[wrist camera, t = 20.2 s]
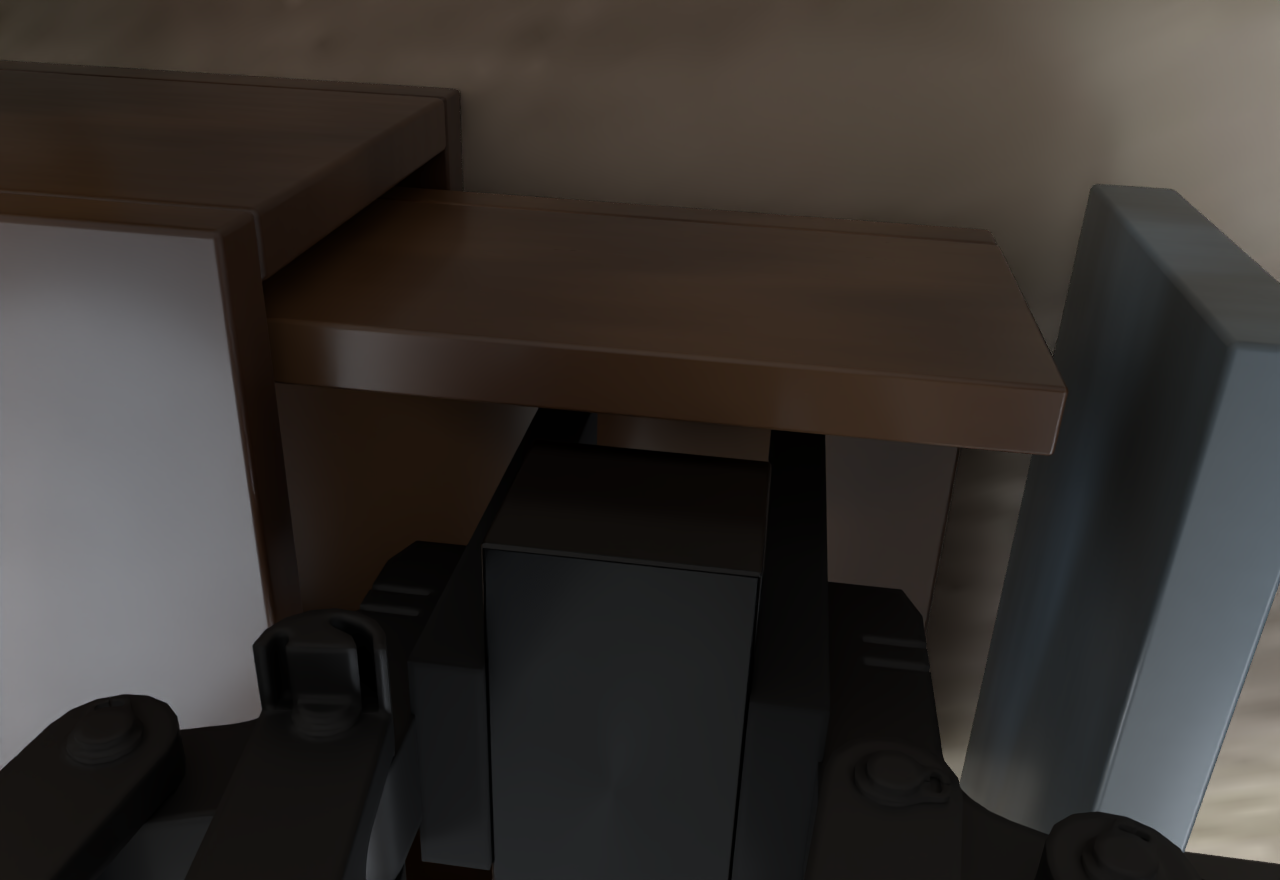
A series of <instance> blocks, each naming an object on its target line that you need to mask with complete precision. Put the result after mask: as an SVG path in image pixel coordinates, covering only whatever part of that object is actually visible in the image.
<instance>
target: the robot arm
mask: <svg viewBox="0 0 1280 880" xmlns="http://www.w3.org/2000/svg"><path fill="white" fill-rule="evenodd" d="M597 417H598V413H590V412H579V411H569V410H558V409H548V408H538V410H537V412H536V414H535V416H534V418H533V419H532V421H531V423H530V425H529V427H528V429H527V431H526V433H525V435H524V437H523V439H522V441H521V443H520V444H519V446H518V448H517V450H516V452H515V454H514V456H513V458H512V460H511V462H510V464H509V466H508V468H507V470H506V471H505V473H504V475H503V477H502V479H501V481H500V483H499V485H498V487H497V489H496V491H495V493H494V495H493V496H492V498H491V500H490V502H489V504H488V506H487V508H486V510H485V512H484V514H483V516H482V518H481V520H480V521H479V523H478V525H477V527H476V529H475V531H474V533H473V535H472V537H471V539H470V541H469V543H468V545H467V546H465V545H455V544H446V543H437V542H427V541H418V540H417V541H415V542H414V543H412V544H411V545H409V546H408V547H406V548H405V549H403V550H402V551H401V552H399V553H398V554H396V555H395V556H393V557H392V558H390V559H389V560H388V561H387V562H386V564H385V566H384V567H383V569H382V570H381V572H380V574H379V575H378V577H377V578H376V580H375V582H374V583H373V587H372V590H369V591H368V593H367V594H366V596H365V598H364V599H363V601H362V602H361V604H360V609H359V610H356V611H351V610H344V609H338V608H331V609H319V610H309V611H306V612H302V613H299V614H296V615H293V616H289V617H286V618H284V619H282V620H281V621H279V622H277V623H276V624H274V625H272V626H271V627H269V628H267V629H266V630H264V632H263V633H262V634H261V635H260V636H259V638H258V639H257V640H256V641H255V642H254V644H253V645H252V648H253V655H254V662H255V668H256V675H257V681H258V688H259V695H260V701H261V708H262V711H261V713H260V716H259V718H256V719H253V720H250V721H245V722H239V723H234V724H227V725H218V726H209V727H200V728H191V729H182V730H180V727H179V722H178V717H177V715H176V714H175V712H174V711H173V710H172V709H171V707H170V706H169V705H168V703H166V702H163V701H161V700H158V699H156V698H153V697H151V696H148V695H132V694H122V695H116V696H111V697H105V698H99V699H96V700H93V701H91V702H88V703H86V704H83V705H81V706H79V707H76V708H74V709H71V710H70V711H68V712H67V713H65V714H64V715H63V716H61V717H60V718H58V719H57V720H55V721H54V722H53V723H51V724H50V725H49V726H47V727H46V728H45V729H44V730H43V731H42V732H41V733H40V734H39V735H38V736H37V737H36V738H35V739H34V740H32V741H31V742H30V743H29V744H28V745H27V746H26V747H25V748H24V749H23V750H22V751H21V752H20V753H19V754H17V755H16V756H15V757H14V758H13V759H12V760H11V761H10V762H9V763H8V764H7V765H6V766H5V767H4V768H2V769H1V770H0V880H407V879H406V866H405V860H406V857H407V855H408V852H409V850H410V848H411V845H412V843H413V840H414V838H415V836H416V833H417V831H418V828H419V830H420V843H421V857H422V861H425V862H432V863H440V864H447V865H454V866H461V867H468V868H476V869H483V870H490V867H491V864H492V850H491V821H490V791H489V762H488V733H487V704H486V675H485V656H484V627H483V598H482V569H481V544H482V542H483V540H484V538H485V536H486V534H487V532H488V530H489V528H490V526H491V524H492V522H493V520H494V518H495V516H496V514H497V512H498V510H499V508H500V506H501V504H502V502H503V500H504V498H505V496H506V494H507V492H508V490H509V488H510V486H511V484H512V482H513V480H514V478H515V476H516V474H517V472H518V470H519V468H520V466H521V464H522V462H523V460H524V458H525V456H526V454H527V452H528V450H529V448H530V446H531V444H532V442H533V440H536V439H540V440H550V441H561V442H571V443H581V444H592V445H597ZM768 462H770V463H771V466H772V471H771V484H770V497H769V511H768V524H767V537H766V550H765V564H764V577H763V586H762V596H761V606H760V616H759V625H758V635H757V645H756V655H755V664H754V674H753V684H752V693H751V694H750V702H749V712H748V721H747V731H746V741H745V751H744V761H743V771H742V781H741V790H740V800H739V810H738V820H737V830H736V840H735V850H734V859H733V869H732V879H731V880H1201V878H1200V876H1199V874H1198V872H1197V870H1196V869H1195V867H1194V866H1193V865H1192V863H1191V862H1190V861H1189V860H1188V858H1187V857H1186V856H1185V854H1184V853H1183V852H1182V850H1181V849H1180V848H1179V847H1178V846H1176V845H1175V844H1174V843H1172V842H1171V841H1170V840H1169V839H1167V838H1166V837H1165V836H1163V835H1162V834H1161V833H1159V832H1158V831H1157V830H1155V829H1153V828H1151V827H1149V826H1146V825H1144V824H1142V823H1140V822H1138V821H1135V820H1133V819H1131V818H1129V817H1126V816H1121V815H1115V814H1110V813H1104V812H1099V811H1095V812H1086V813H1076V814H1071V815H1070V816H1068V817H1066V818H1064V819H1063V820H1061V821H1059V822H1057V823H1056V824H1054V826H1053V828H1052V830H1051V831H1050V833H1049V835H1048V834H1046V833H1043V832H1040V831H1037V830H1035V829H1032V828H1029V827H1027V826H1024V825H1021V824H1019V823H1016V822H1013V821H1011V820H1008V819H1006V818H1004V817H1002V816H1000V815H998V814H995V813H993V812H991V811H989V810H987V809H986V808H985V807H983V806H982V805H980V804H979V803H977V802H976V801H974V800H973V799H971V798H970V797H969V796H968V795H967V794H966V793H965V792H964V791H963V790H962V789H961V788H960V784H959V780H958V777H957V776H956V775H955V774H954V772H953V771H952V770H951V769H950V767H949V766H948V765H947V764H946V762H945V761H944V758H943V754H942V747H941V741H940V734H939V727H938V720H937V713H936V706H935V699H934V692H933V685H932V678H931V672H929V669H930V664H929V657H928V651H927V649H926V637H925V630H924V623H923V616H922V615H921V613H920V612H919V611H918V609H917V608H916V607H915V606H914V604H913V603H912V602H911V600H910V599H909V598H908V597H907V595H906V594H905V593H904V591H903V590H902V589H893V588H884V587H874V586H865V585H856V584H846V583H837V582H828V560H827V503H826V446H825V435H823V434H813V433H802V432H792V431H781V430H771V434H770V444H769V455H768Z"/></svg>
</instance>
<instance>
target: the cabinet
mask: <svg viewBox="0 0 1280 880" xmlns="http://www.w3.org/2000/svg"><path fill="white" fill-rule="evenodd" d="M394 186H396V187H409V188H423V189H437V190H450V191H463V171H462V143H461V116H460V93H459V90H457V89H449V88H433V87H417V86H401V85H385V84H370V83H354V82H338V81H322V80H306V79H290V78H274V77H258V76H242V75H226V74H210V73H194V72H178V71H162V70H146V69H130V68H114V67H98V66H82V65H66V64H50V63H34V62H18V61H3V60H0V770H1V769H2V768H4V767H5V766H6V765H7V764H8V763H9V762H10V761H11V760H12V759H13V758H14V757H15V756H16V755H17V754H19V753H20V752H21V751H22V750H23V749H24V748H25V747H26V746H27V745H28V744H29V743H30V742H31V741H32V740H34V739H35V738H36V737H37V736H38V735H39V734H40V733H41V732H42V731H43V730H44V729H45V728H46V727H47V726H49V725H50V724H51V723H53V722H54V721H55V720H57V719H58V718H60V717H61V716H63V715H64V714H65V713H67V712H68V711H70V710H71V709H74V708H76V707H79V706H81V705H83V704H86V703H88V702H91V701H93V700H96V699H99V698H105V697H111V696H116V695H122V694H132V695H148V696H151V697H153V698H156V699H158V700H161V701H163V702H166V703H168V705H169V706H170V707H171V709H172V710H173V711H174V712H175V714H176V715H177V717H178V722H179V727H180V730H182V729H191V728H200V727H209V726H218V725H227V724H234V723H239V722H245V721H250V720H253V719H256V718H259V716H260V713H261V711H262V708H261V701H260V695H259V688H258V681H257V675H256V668H255V662H254V655H253V648H252V645H253V644H254V642H255V641H256V640H257V639H258V638H259V636H260V635H261V634H262V633H263V632H264V630H266V629H267V628H269V627H271V626H272V625H274V624H276V623H277V622H279V621H281V620H282V619H284V618H286V617H289V616H293V615H296V614H299V613H302V612H303V608H302V600H301V592H300V584H299V576H298V568H297V560H296V552H295V544H294V535H293V527H292V519H291V511H290V503H289V495H288V487H287V479H286V471H285V463H284V455H283V447H282V439H281V431H280V423H279V415H278V406H277V398H276V390H275V382H274V374H273V366H272V358H271V350H270V342H269V334H268V326H267V318H266V310H265V302H264V294H263V286H262V281H264V280H266V279H268V278H269V277H271V276H272V275H274V274H275V273H276V272H278V271H279V270H280V269H282V268H283V267H284V266H286V265H287V264H289V263H290V262H291V261H293V260H294V259H295V258H297V257H298V256H300V255H301V254H302V253H304V252H305V251H306V250H308V249H309V248H310V247H312V246H313V245H315V244H316V243H317V242H319V241H320V240H321V239H323V238H324V237H325V236H327V235H328V234H330V233H331V232H332V231H334V230H335V229H336V228H338V227H339V226H341V225H342V224H343V223H345V222H346V221H347V220H349V219H350V218H351V217H353V216H354V215H356V214H357V213H358V212H360V211H361V210H362V209H364V208H365V207H367V206H368V205H369V204H371V203H372V202H373V201H375V200H376V199H377V198H379V197H380V196H382V195H383V194H384V193H386V192H387V191H388V190H390V189H391V188H393V187H394Z"/></svg>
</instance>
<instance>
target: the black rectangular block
mask: <svg viewBox="0 0 1280 880" xmlns="http://www.w3.org/2000/svg"><path fill="white" fill-rule="evenodd" d="M771 471H772V466H771V463H770V462H767V461H757V460H747V459H737V458H726V457H716V456H706V455H695V454H685V453H675V452H664V451H654V450H643V449H633V448H623V447H612V446H602V445H592V444H581V443H571V442H561V441H550V440H540V439H536V440H533V442H532V444H531V446H530V448H529V450H528V452H527V454H526V456H525V458H524V460H523V462H522V464H521V466H520V468H519V470H518V472H517V474H516V476H515V478H514V480H513V482H512V484H511V486H510V488H509V490H508V492H507V494H506V496H505V498H504V500H503V502H502V504H501V506H500V508H499V510H498V512H497V514H496V516H495V518H494V520H493V522H492V524H491V526H490V528H489V530H488V532H487V534H486V536H485V538H484V540H483V542H482V544H481V569H482V598H483V627H484V656H485V675H486V704H487V733H488V762H489V791H490V821H491V850H492V880H731V879H732V869H733V859H734V850H735V840H736V830H737V820H738V810H739V800H740V790H741V781H742V771H743V761H744V751H745V741H746V731H747V721H748V712H749V702H750V694H751V693H752V684H753V674H754V664H755V655H756V645H757V635H758V625H759V616H760V606H761V596H762V586H763V577H764V564H765V550H766V537H767V524H768V511H769V497H770V484H771Z"/></svg>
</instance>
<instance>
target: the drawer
mask: <svg viewBox="0 0 1280 880" xmlns="http://www.w3.org/2000/svg"><path fill="white" fill-rule="evenodd" d="M262 286H263V294H264V302H265V310H266V318H267V326H268V334H269V342H270V350H271V358H272V366H273V374H274V382H275V390H276V398H277V406H278V415H279V423H280V431H281V439H282V447H283V455H284V463H285V471H286V479H287V487H288V495H289V503H290V511H291V519H292V527H293V535H294V544H295V552H296V560H297V568H298V576H299V584H300V592H301V600H302V608H303V612H306V611H309V610H319V609H331V608H338V609H344V610H351V611H356V610H359V609H360V604H361V602H362V601H363V599H364V598H365V596H366V594H367V593H368V591H369V590H372V587H373V583H374V582H375V580H376V578H377V577H378V575H379V574H380V572H381V570H382V569H383V567H384V566H385V564H386V562H387V561H388V560H389V559H390V558H392V557H393V556H395V555H396V554H398V553H399V552H401V551H402V550H403V549H405V548H406V547H408V546H409V545H411V544H412V543H414V542H415V541H417V540H418V541H427V542H437V543H446V544H455V545H465V546H467V545H468V543H469V541H470V539H471V537H472V535H473V533H474V531H475V529H476V527H477V525H478V523H479V521H480V520H481V518H482V516H483V514H484V512H485V510H486V508H487V506H488V504H489V502H490V500H491V498H492V496H493V495H494V493H495V491H496V489H497V487H498V485H499V483H500V481H501V479H502V477H503V475H504V473H505V471H506V470H507V468H508V466H509V464H510V462H511V460H512V458H513V456H514V454H515V452H516V450H517V448H518V446H519V444H520V443H521V441H522V439H523V437H524V435H525V433H526V431H527V429H528V427H529V425H530V423H531V421H532V419H533V418H534V416H535V414H536V412H537V410H538V408H548V409H558V410H569V411H579V412H590V413H598V417H597V445H602V446H612V447H623V448H633V449H643V450H654V451H664V452H675V453H685V454H695V455H706V456H716V457H726V458H737V459H747V460H757V461H767V462H768V455H769V444H770V434H771V430H781V431H792V432H802V433H813V434H823V435H825V446H826V503H827V560H828V582H837V583H846V584H856V585H865V586H874V587H884V588H893V589H902V590H903V591H904V593H905V594H906V595H907V597H908V598H909V599H910V600H911V602H912V603H913V604H914V606H915V607H916V608H917V609H918V611H919V612H920V613H921V615H922V616H923V623H924V630H925V637H926V633H927V628H928V622H929V617H930V612H931V606H932V601H933V595H934V590H935V585H936V579H937V574H938V569H939V563H940V558H941V553H942V547H943V542H944V536H945V531H946V526H947V520H948V515H949V510H950V504H951V499H952V494H953V488H954V483H955V477H956V472H957V467H958V461H959V456H960V451H961V448H972V449H982V450H993V451H1004V452H1014V453H1025V454H1032V457H1031V461H1030V466H1029V470H1028V475H1027V479H1026V484H1025V488H1024V493H1023V498H1022V502H1021V507H1020V511H1019V516H1018V520H1017V525H1016V529H1015V534H1014V539H1013V543H1012V548H1011V552H1010V557H1009V561H1008V566H1007V570H1006V575H1005V580H1004V584H1003V589H1002V593H1001V598H1000V602H999V607H998V611H997V616H996V620H995V625H994V630H993V634H992V639H991V643H990V648H989V652H988V657H987V661H986V666H985V671H984V675H983V680H982V684H981V689H980V693H979V698H978V702H977V707H976V712H975V716H974V721H973V725H972V730H971V734H970V739H969V743H968V748H967V752H966V757H965V762H964V766H963V771H962V775H961V780H960V788H961V789H962V790H963V791H964V792H965V793H966V794H967V795H968V796H969V797H970V798H971V799H973V800H974V801H976V802H977V803H979V804H980V805H982V806H983V807H985V808H986V809H987V810H989V811H991V812H993V813H995V814H998V815H1000V816H1002V817H1004V818H1006V819H1008V820H1011V821H1013V822H1016V823H1019V824H1021V825H1024V826H1027V827H1029V828H1032V829H1035V830H1037V831H1040V832H1043V833H1046V834H1048V835H1049V833H1050V831H1051V830H1052V828H1053V826H1054V824H1056V823H1057V822H1059V821H1061V820H1063V819H1064V818H1066V817H1068V816H1070V815H1071V814H1076V813H1086V812H1095V811H1099V812H1104V813H1110V814H1115V815H1121V816H1126V817H1129V818H1131V819H1133V820H1135V821H1138V822H1140V823H1142V824H1144V825H1146V826H1149V827H1151V828H1153V829H1155V830H1157V831H1158V832H1159V833H1161V834H1162V835H1163V836H1165V837H1166V838H1167V839H1169V840H1170V841H1171V842H1172V843H1174V844H1175V845H1176V846H1178V847H1179V848H1180V849H1181V850H1182V852H1183V853H1184V854H1185V856H1186V857H1187V858H1188V860H1189V861H1190V862H1191V863H1192V865H1193V866H1194V867H1195V869H1196V870H1197V872H1198V874H1199V876H1200V878H1201V880H1280V864H1276V863H1268V862H1261V861H1253V860H1245V859H1238V858H1230V857H1223V856H1215V855H1207V854H1200V853H1192V852H1184V851H1185V848H1186V845H1187V843H1188V840H1189V837H1190V834H1191V831H1192V828H1193V826H1194V823H1195V820H1196V817H1197V814H1198V811H1199V809H1200V806H1201V803H1202V800H1203V797H1204V795H1205V792H1206V789H1207V786H1208V783H1209V780H1210V778H1211V775H1212V772H1213V769H1214V766H1215V763H1216V761H1217V758H1218V755H1219V752H1220V749H1221V747H1222V744H1223V741H1224V738H1225V735H1226V732H1227V730H1228V727H1229V724H1230V721H1231V718H1232V715H1233V713H1234V710H1235V707H1236V704H1237V701H1238V699H1239V696H1240V693H1241V690H1242V687H1243V684H1244V682H1245V679H1246V676H1247V673H1248V670H1249V667H1250V665H1251V662H1252V659H1253V656H1254V653H1255V651H1256V648H1257V645H1258V642H1259V639H1260V636H1261V634H1262V631H1263V628H1264V625H1265V622H1266V619H1267V617H1268V614H1269V611H1270V608H1271V605H1272V603H1273V600H1274V597H1275V594H1276V591H1277V588H1278V586H1279V583H1280V283H1279V282H1278V281H1277V280H1276V279H1274V278H1273V277H1272V276H1271V275H1270V274H1269V273H1268V272H1267V271H1265V270H1264V269H1263V268H1262V267H1261V266H1260V265H1259V264H1258V263H1256V262H1255V261H1254V260H1253V259H1252V258H1251V257H1250V256H1249V255H1247V254H1246V253H1245V252H1244V251H1243V250H1242V249H1241V248H1240V247H1238V246H1237V245H1236V244H1235V243H1234V242H1233V241H1232V240H1231V239H1229V238H1228V237H1227V236H1226V235H1225V234H1224V233H1223V232H1221V231H1220V230H1219V229H1218V228H1217V227H1216V226H1215V225H1214V224H1212V223H1211V222H1210V221H1209V220H1208V219H1207V218H1206V217H1205V216H1203V215H1202V214H1201V213H1200V212H1199V211H1198V210H1197V209H1196V208H1194V207H1193V206H1192V205H1191V204H1190V203H1189V202H1188V201H1187V200H1185V199H1184V198H1183V197H1182V196H1181V195H1180V194H1179V193H1178V192H1176V191H1175V190H1173V189H1164V188H1149V187H1135V186H1120V185H1105V184H1096V185H1093V186H1092V187H1091V189H1090V193H1089V197H1088V202H1087V206H1086V211H1085V215H1084V220H1083V224H1082V229H1081V234H1080V238H1079V243H1078V247H1077V252H1076V256H1075V261H1074V265H1073V270H1072V275H1071V279H1070V284H1069V288H1068V293H1067V297H1066V302H1065V306H1064V311H1063V315H1062V320H1061V325H1060V329H1059V334H1058V338H1057V343H1056V347H1055V352H1054V356H1053V357H1052V354H1051V352H1050V350H1049V348H1048V346H1047V344H1046V342H1045V340H1044V338H1043V336H1042V334H1041V332H1040V330H1039V328H1038V325H1037V323H1036V321H1035V319H1034V317H1033V315H1032V313H1031V311H1030V309H1029V307H1028V305H1027V303H1026V301H1025V299H1024V296H1023V294H1022V292H1021V290H1020V288H1019V286H1018V284H1017V282H1016V280H1015V278H1014V276H1013V274H1012V272H1011V270H1010V267H1009V265H1008V263H1007V261H1006V259H1005V257H1004V255H1003V253H1002V251H1001V249H1000V247H999V246H997V243H996V241H995V239H994V237H993V235H992V233H991V232H990V231H988V230H984V229H971V228H957V227H943V226H930V225H916V224H902V223H889V222H875V221H861V220H847V219H834V218H820V217H806V216H793V215H779V214H765V213H752V212H738V211H724V210H711V209H697V208H683V207H670V206H656V205H642V204H628V203H615V202H601V201H587V200H574V199H560V198H546V197H533V196H519V195H505V194H492V193H478V192H464V191H450V190H437V189H423V188H409V187H396V186H394V187H393V188H391V189H390V190H388V191H387V192H386V193H384V194H383V195H382V196H380V197H379V198H377V199H376V200H375V201H373V202H372V203H371V204H369V205H368V206H367V207H365V208H364V209H362V210H361V211H360V212H358V213H357V214H356V215H354V216H353V217H351V218H350V219H349V220H347V221H346V222H345V223H343V224H342V225H341V226H339V227H338V228H336V229H335V230H334V231H332V232H331V233H330V234H328V235H327V236H325V237H324V238H323V239H321V240H320V241H319V242H317V243H316V244H315V245H313V246H312V247H310V248H309V249H308V250H306V251H305V252H304V253H302V254H301V255H300V256H298V257H297V258H295V259H294V260H293V261H291V262H290V263H289V264H287V265H286V266H284V267H283V268H282V269H280V270H279V271H278V272H276V273H275V274H274V275H272V276H271V277H269V278H268V279H266V280H264V281H262ZM405 866H406V879H407V880H492V864H491V867H490V870H483V869H476V868H468V867H461V866H454V865H447V864H440V863H432V862H425V861H422V857H421V843H420V830H419V828H418V831H417V833H416V836H415V838H414V840H413V843H412V845H411V848H410V850H409V852H408V855H407V857H406V860H405Z"/></svg>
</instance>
